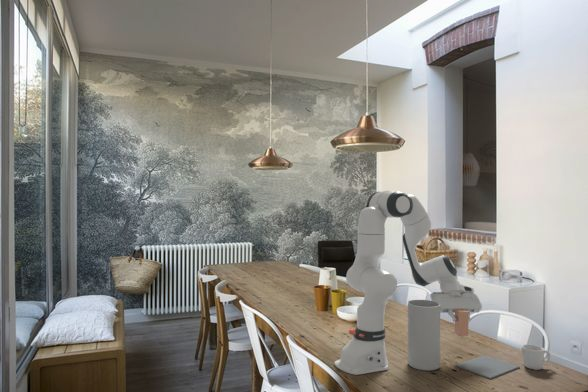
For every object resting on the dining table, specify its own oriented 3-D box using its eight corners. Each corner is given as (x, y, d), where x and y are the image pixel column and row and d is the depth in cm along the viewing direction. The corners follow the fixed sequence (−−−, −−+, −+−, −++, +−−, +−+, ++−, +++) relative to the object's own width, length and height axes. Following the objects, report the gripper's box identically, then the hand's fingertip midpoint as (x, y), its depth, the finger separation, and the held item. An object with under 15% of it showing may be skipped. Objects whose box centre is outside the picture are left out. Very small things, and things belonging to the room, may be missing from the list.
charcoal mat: (490, 379, 158) (490, 377, 158) (455, 366, 171) (455, 364, 171) (519, 367, 169) (519, 366, 169) (484, 356, 182) (484, 354, 182)
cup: (543, 363, 174) (543, 344, 174) (556, 371, 166) (556, 350, 166) (517, 363, 173) (517, 344, 174) (529, 371, 165) (529, 351, 166)
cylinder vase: (415, 357, 180) (415, 298, 181) (444, 364, 173) (444, 302, 173) (402, 366, 171) (402, 303, 171) (433, 374, 163) (433, 308, 163)
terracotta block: (458, 335, 177) (458, 311, 177) (454, 332, 181) (454, 309, 181) (468, 335, 177) (468, 311, 177) (463, 332, 181) (463, 309, 181)
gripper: (431, 288, 185) (440, 316, 175) (476, 288, 186) (488, 316, 177) (427, 296, 190) (435, 324, 180) (472, 296, 191) (482, 324, 181)
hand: (462, 320), depth 178 cm, fingers closed on terracotta block, 4 cm apart
